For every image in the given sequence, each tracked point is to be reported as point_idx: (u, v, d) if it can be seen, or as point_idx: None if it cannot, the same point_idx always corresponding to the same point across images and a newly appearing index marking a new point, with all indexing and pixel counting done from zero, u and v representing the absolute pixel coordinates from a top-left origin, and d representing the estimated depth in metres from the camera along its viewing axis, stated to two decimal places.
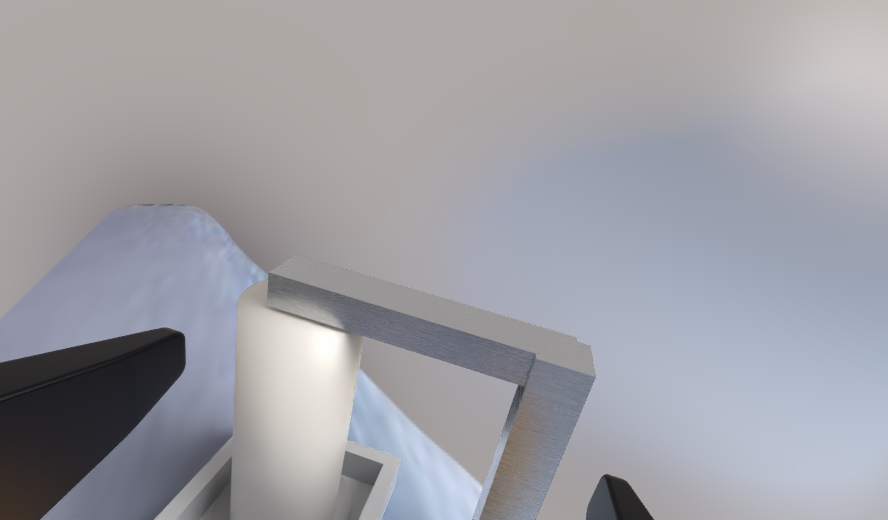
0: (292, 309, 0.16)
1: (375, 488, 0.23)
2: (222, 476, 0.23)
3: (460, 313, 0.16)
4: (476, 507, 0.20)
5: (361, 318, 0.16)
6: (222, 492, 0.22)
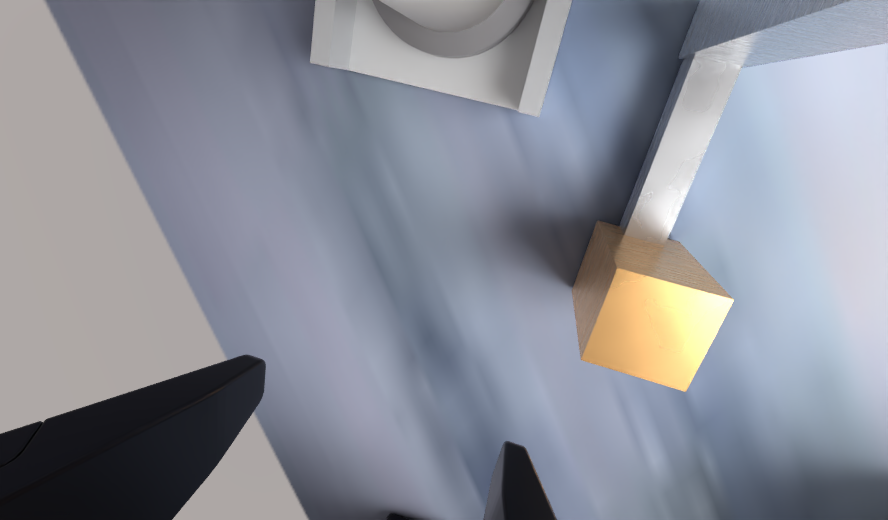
0: None
1: None
2: None
3: None
4: None
5: None
6: None
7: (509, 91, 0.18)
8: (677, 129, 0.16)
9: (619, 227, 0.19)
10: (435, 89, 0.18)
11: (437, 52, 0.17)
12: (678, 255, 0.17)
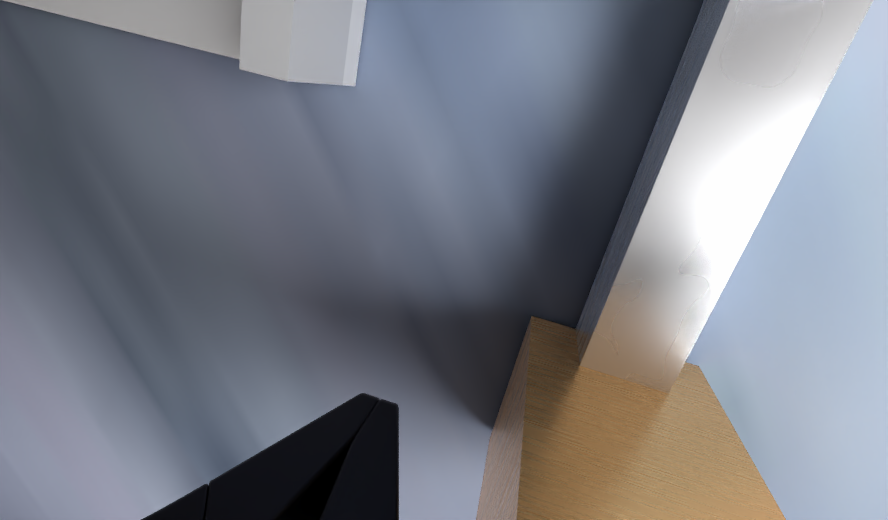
0: None
1: None
2: None
3: None
4: None
5: None
6: None
7: None
8: (705, 131, 0.06)
9: (574, 335, 0.09)
10: (135, 30, 0.09)
11: None
12: (703, 437, 0.07)
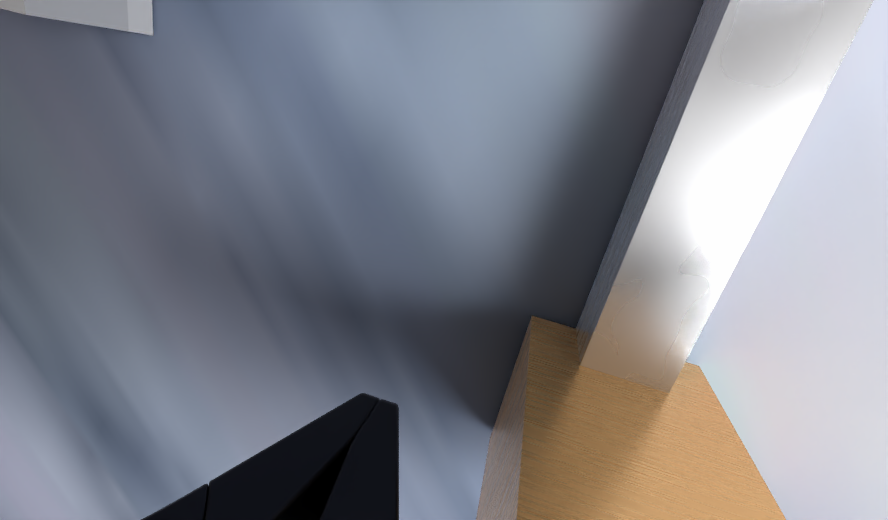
0: None
1: None
2: None
3: None
4: None
5: None
6: None
7: None
8: (705, 132, 0.06)
9: (575, 334, 0.09)
10: None
11: None
12: (703, 437, 0.07)
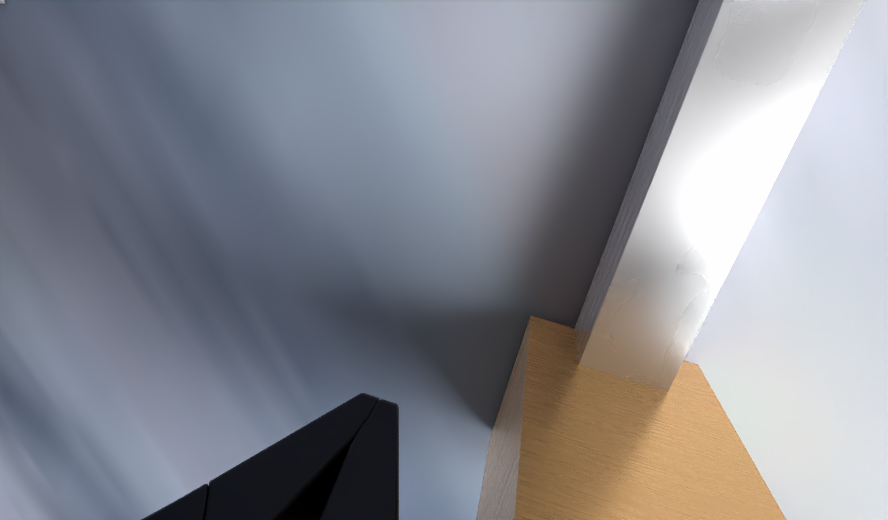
0: None
1: None
2: None
3: None
4: None
5: None
6: None
7: None
8: (701, 130, 0.06)
9: (573, 334, 0.09)
10: None
11: None
12: (701, 435, 0.07)
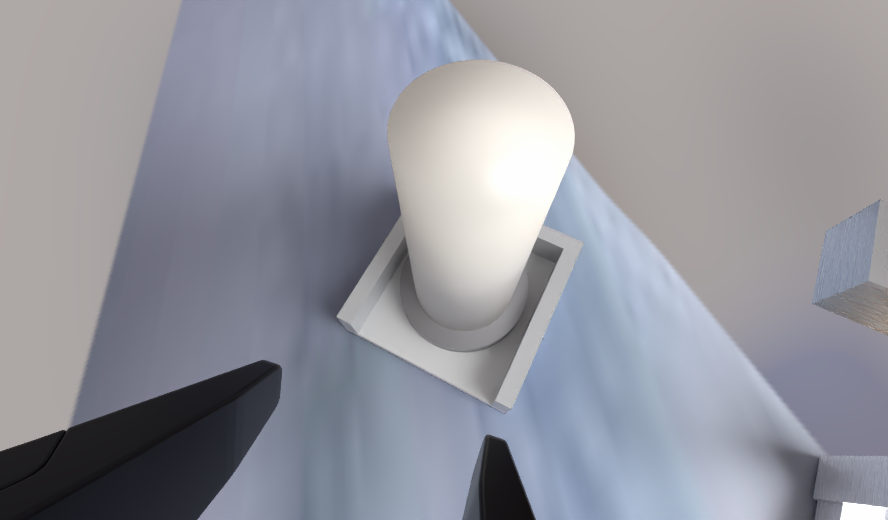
0: (873, 323, 0.09)
1: (554, 276, 0.22)
2: (403, 247, 0.23)
3: None
4: None
5: None
6: (405, 264, 0.23)
7: (484, 386, 0.22)
8: None
9: None
10: (425, 368, 0.22)
11: (438, 340, 0.21)
12: None
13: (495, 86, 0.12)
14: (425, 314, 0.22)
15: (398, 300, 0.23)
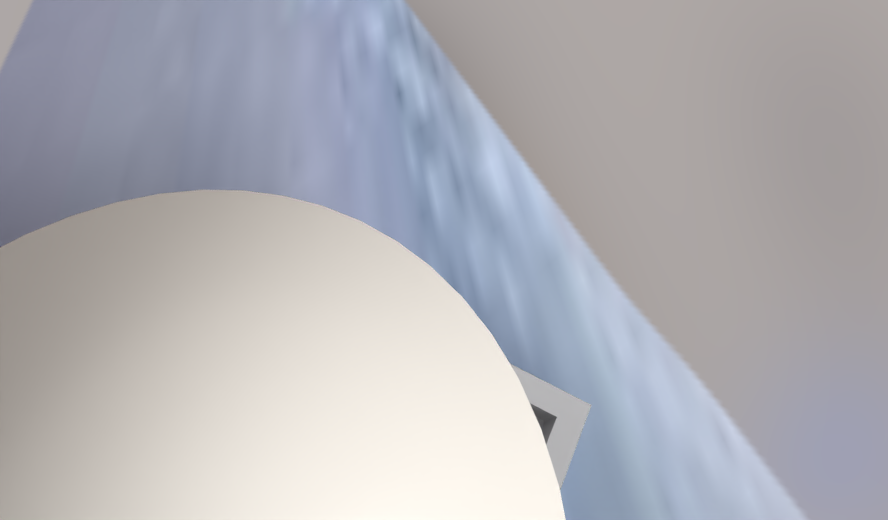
0: None
1: None
2: None
3: None
4: None
5: None
6: None
7: None
8: None
9: None
10: None
11: None
12: None
13: (254, 315, 0.03)
14: None
15: None
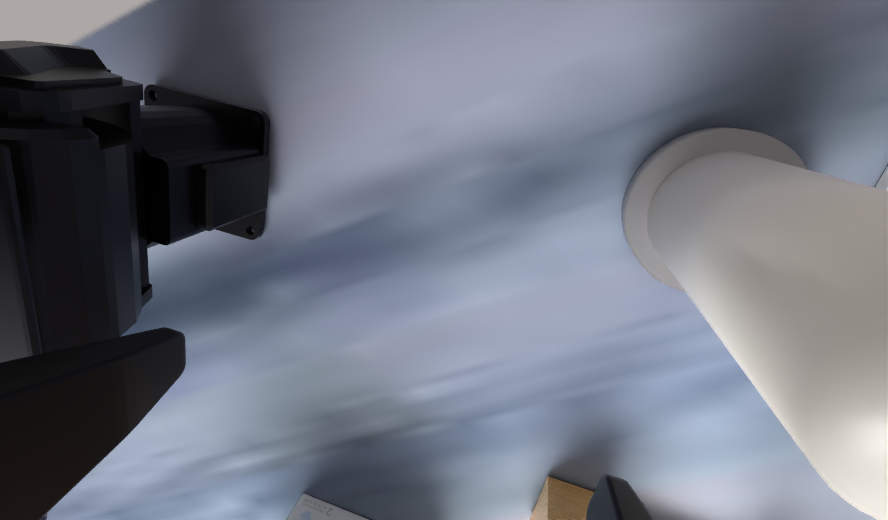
0: None
1: None
2: None
3: None
4: None
5: None
6: (741, 131, 0.16)
7: None
8: None
9: None
10: None
11: (631, 200, 0.18)
12: None
13: None
14: (664, 177, 0.17)
15: None
